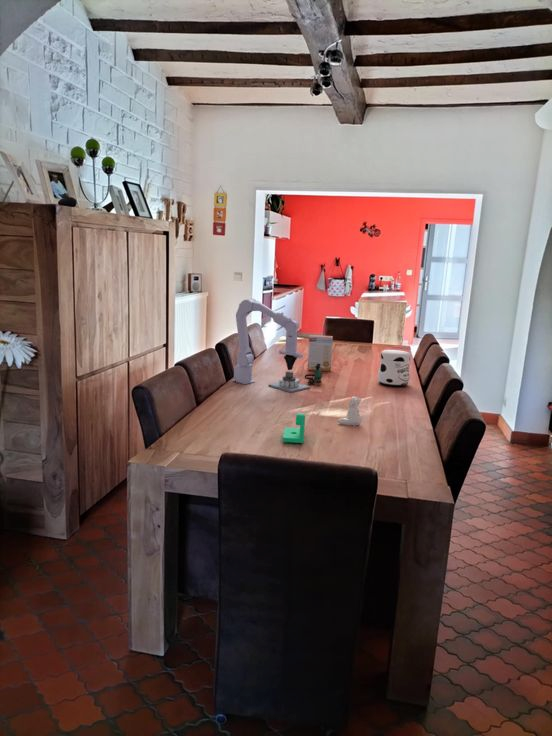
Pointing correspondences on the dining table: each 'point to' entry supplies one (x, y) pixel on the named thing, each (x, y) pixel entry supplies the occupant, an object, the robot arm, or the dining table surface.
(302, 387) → the mount plate
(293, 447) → the dining table surface
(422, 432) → the dining table surface
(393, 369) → the milk container
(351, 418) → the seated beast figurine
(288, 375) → the grey rounded knob
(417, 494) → the dining table surface
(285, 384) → the segmented white ring
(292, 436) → the camera mount
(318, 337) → the cracker box
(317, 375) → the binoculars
